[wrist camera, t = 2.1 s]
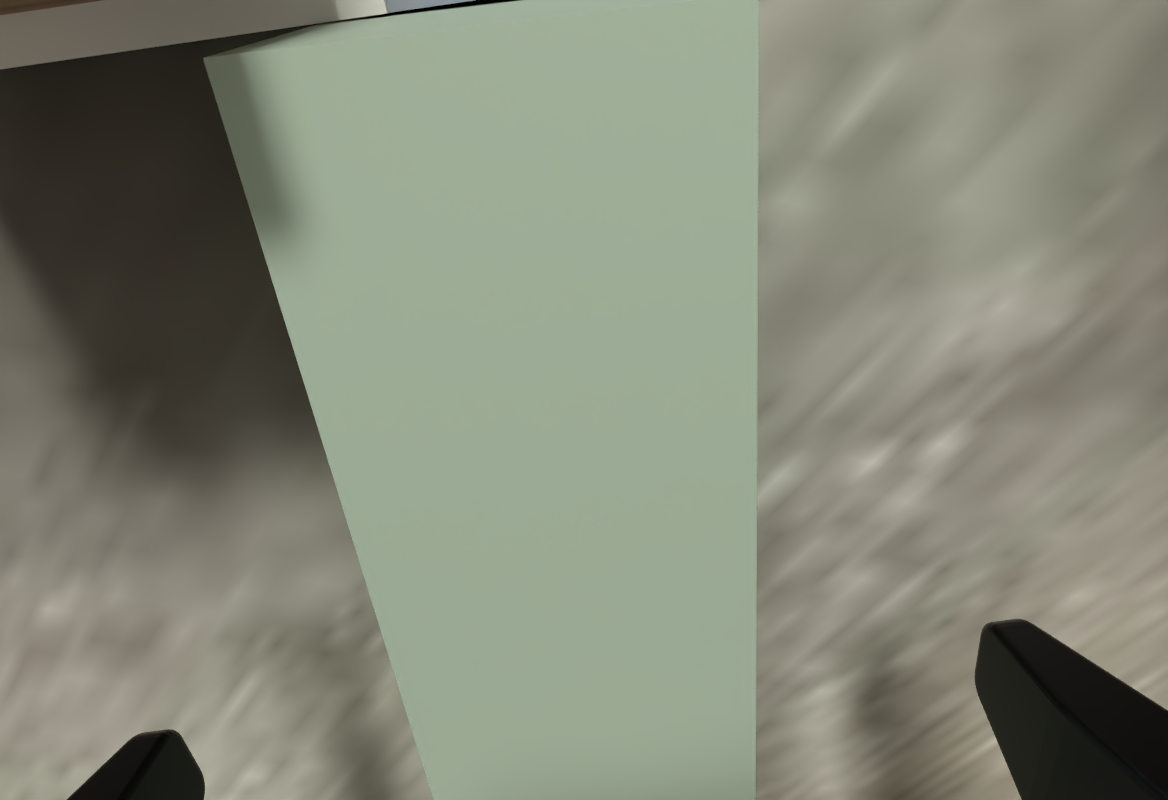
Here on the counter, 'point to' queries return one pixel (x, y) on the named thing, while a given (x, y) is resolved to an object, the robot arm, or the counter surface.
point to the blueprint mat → (165, 24)
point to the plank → (532, 369)
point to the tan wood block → (35, 5)
